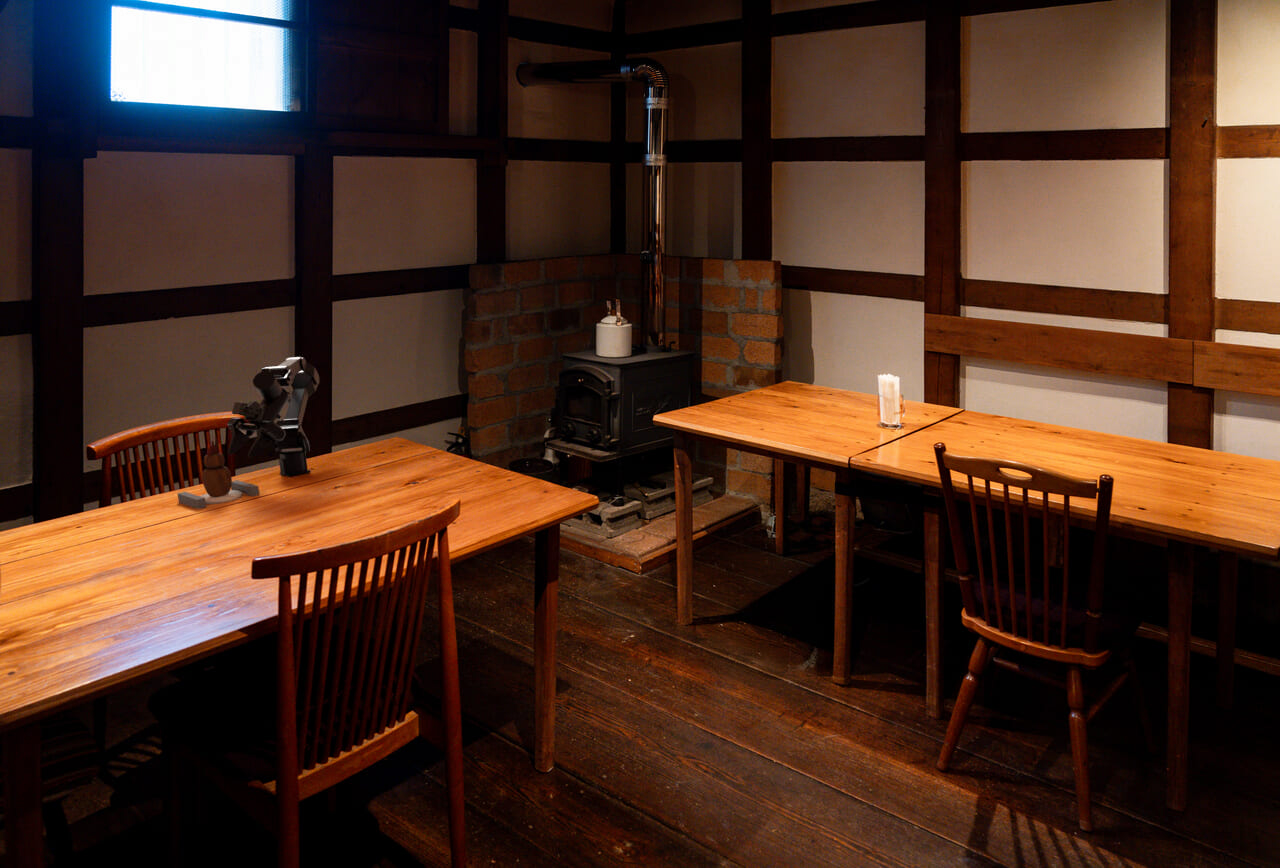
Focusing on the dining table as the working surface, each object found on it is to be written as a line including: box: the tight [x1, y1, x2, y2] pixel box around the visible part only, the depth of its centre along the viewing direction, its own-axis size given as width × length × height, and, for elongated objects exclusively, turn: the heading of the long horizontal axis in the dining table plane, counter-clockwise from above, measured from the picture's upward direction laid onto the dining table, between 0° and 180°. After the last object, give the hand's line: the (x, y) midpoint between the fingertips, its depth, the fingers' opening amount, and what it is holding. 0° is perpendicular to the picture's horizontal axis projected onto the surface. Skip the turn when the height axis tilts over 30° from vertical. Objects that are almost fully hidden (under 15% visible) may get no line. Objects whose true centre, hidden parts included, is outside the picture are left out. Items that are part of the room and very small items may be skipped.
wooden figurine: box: [201, 437, 233, 497], centre depth 254 cm, size 7×6×15 cm
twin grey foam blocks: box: [176, 479, 260, 510], centre depth 255 cm, size 16×12×2 cm
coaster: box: [199, 489, 243, 505], centre depth 255 cm, size 11×11×1 cm
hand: (239, 455), depth 259 cm, fingers open, 9 cm apart
